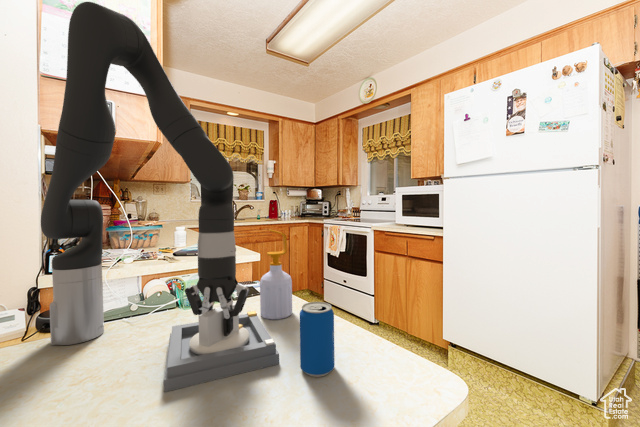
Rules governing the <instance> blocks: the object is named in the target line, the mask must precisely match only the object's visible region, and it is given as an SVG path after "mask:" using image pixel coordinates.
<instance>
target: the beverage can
mask: <svg viewBox="0 0 640 427" xmlns="http://www.w3.org/2000/svg"><path fill="white" fill-rule="evenodd" d="M299 349H300V350H299V357H300V358H299V359H300V360H299V363H300V365H299V367H300V369H301V371H303V373H305V374H306V375H308V376H311V377H314V378H320V377H325V376H327V375H328V374H330V373H331V372H332V371H333V370H334V369H335V313H334V310H333V309H332V304H330V303H328V302H324V301H311V302H307V303H304V304H302V305H301V310H300V312H299Z"/></svg>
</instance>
